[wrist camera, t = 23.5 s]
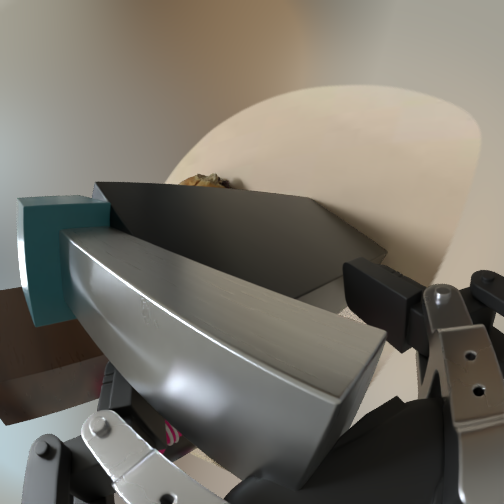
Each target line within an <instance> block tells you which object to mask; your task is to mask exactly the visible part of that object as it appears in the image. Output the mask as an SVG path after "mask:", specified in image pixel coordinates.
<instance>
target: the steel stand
mask: <svg viewBox="0 0 504 504" xmlns="http://www.w3.org/2000/svg"><path fill="white" fill-rule="evenodd" d="M92 198H93V199H97V200H101V201H106V202H110V203H111V209H110V227H112V228H115V229H117V230H119V231H122V232H124V233H127V234H129V235H131V236H134V237H136V238H139V239H141V240H143V241H146V242H148V243H151V244H153V245H155V246H158V247H160V248H163V249H165V250H168V251H170V252H173V253H175V254H178V255H180V256H183V257H185V258H188V259H190V260H193V261H195V262H198V263H200V264H203V265H205V266H208V267H210V268H213V269H216V270H218V271H221V272H223V273H226V274H229V275H231V276H234V277H236V278H239V279H242V280H244V281H247V282H250V283H252V284H255V285H257V286H260V287H263V288H265V289H268V290H271V291H274V292H276V293H279V294H282V295H284V296H287V297H290V298H293V299H295V300H298V301H301V302H304V303H306V304H309V305H312V306H315V307H318V308H321V309H323V310H326V311H329V312H332V313H335V314H338V313H339V312H341V311H342V310H343V309H345V308H346V307H347V306H348V305H347V303H346V300H345V292H344V281H343V271H342V267H343V264H344V263H345V262H347V261H350V260H352V259H355V258H358V257H363V258H365V259H367V260H369V261H371V262H372V263H375V264H380V263H381V261H382V260H383V258H384V257H385V255H386V253H387V251H386V250H385V249H383V248H382V247H381V246H379V245H378V244H376V243H375V242H374V241H372V240H371V239H369V238H368V237H367V236H365V235H364V234H362V233H361V232H360V231H358V230H357V229H355V228H354V227H352V226H351V225H349V224H348V223H347V222H345V221H344V220H342V219H341V218H339V217H338V216H336V215H335V214H333V213H332V212H330V211H329V210H327V209H326V208H324V207H323V206H321V205H320V204H318V203H317V202H315V201H313V200H312V199H310V198H308V197H300V196H293V195H284V194H276V193H267V192H258V191H249V190H239V189H228V188H216V187H204V186H190V185H174V184H155V183H130V182H95V185H94V190H93V195H92Z"/></svg>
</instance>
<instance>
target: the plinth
mask: <svg viewBox="0 0 504 504" xmlns="http://www.w3.org/2000/svg"><path fill="white" fill-rule="evenodd" d="M108 361H109V359H108V358H107V357H106V356H105V355H104V353H103V352H102V351H101V350H100V348H99V347H98V346H97V345H96V343H95V342H94V341H93V339H92V338H91V337H90V336H89V334H88V333H87V332H86V330H85V329H84V327H83V326H82V325H81V323H80V322H79V321H78V319H72V320H68V321H63V322H59V323H54V324H49V325H45V326H40V327H35V325H34V323H33V320H32V317H31V314H30V311H29V308H28V305H27V302H26V299H25V295H24V292H23V289H22V287H18V288H12V289H6V290H0V419H1V420H2V421H3V423H4V424H5V425H6V426H7V425H11V424H15V423H19V422H23V421H27V420H31V419H34V418H38V417H42V416H45V415H48V414H52V413H55V412H58V411H62V410H65V409H68V408H71V407H74V406H77V405H80V404H83V403H86V402H89V401H92V400H95V399H98V398H99V397H100V392H101V387H102V385H103V383H102V382H103V377H105V376H104V373H105V368H106V364H107V363H108Z"/></svg>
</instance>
